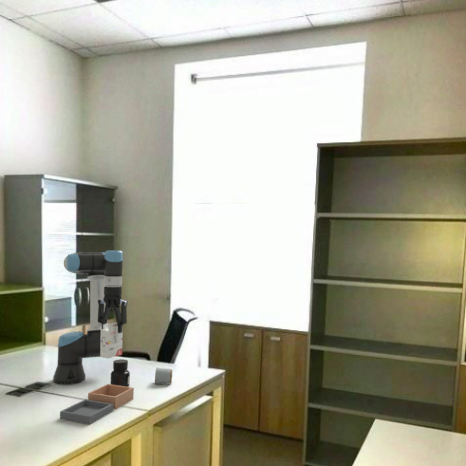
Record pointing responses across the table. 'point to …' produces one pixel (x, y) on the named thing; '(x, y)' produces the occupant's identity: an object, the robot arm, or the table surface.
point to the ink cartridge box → (110, 342)
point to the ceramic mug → (163, 376)
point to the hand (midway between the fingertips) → (111, 339)
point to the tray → (86, 411)
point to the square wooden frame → (112, 395)
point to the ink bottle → (120, 373)
